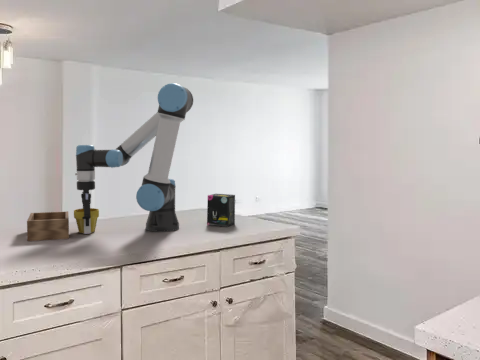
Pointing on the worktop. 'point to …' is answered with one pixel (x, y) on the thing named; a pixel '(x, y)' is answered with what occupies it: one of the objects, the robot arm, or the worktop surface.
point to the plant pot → (80, 222)
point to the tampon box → (221, 210)
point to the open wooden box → (48, 226)
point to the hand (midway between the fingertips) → (86, 231)
